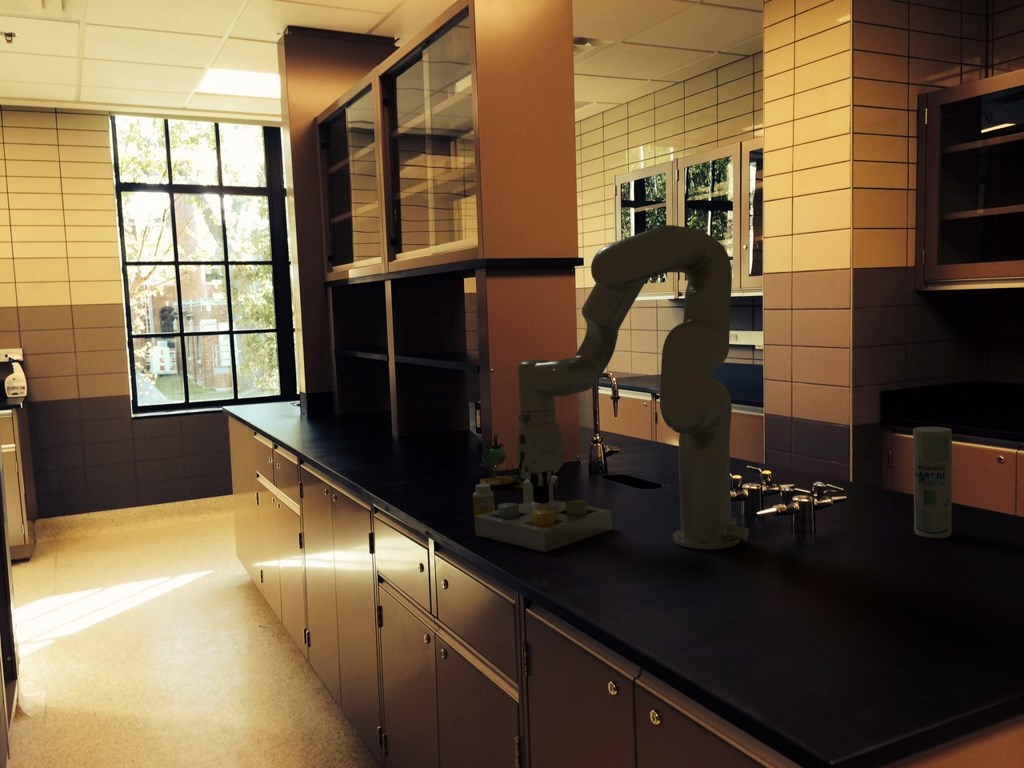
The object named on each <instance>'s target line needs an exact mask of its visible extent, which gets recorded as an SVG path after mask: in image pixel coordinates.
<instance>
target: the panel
mask: <svg viewBox="0 0 1024 768" xmlns="http://www.w3.org/2000/svg"><path fill="white" fill-rule="evenodd" d="M549 501H552V508H548V509H545V510H552V511H554V521H555V524H554V525H551V526H548V527H545V528H542V527H538V526H533V525H532V512H533V511H536V510H539V509H534V508H532V502H534V500H532V501H529V502H525V503H524V502H522V503H519V517H517V518H514V519H510V520H505V519H500V518H498V509H495V511H492V512H489V513H485V514H481V515H478V516H474V515H473V518H474V517H475V521H474V530H475V535H474V536H477V537H481V538H485V539H490V540H493V541H497V542H501V543H506V544H508V545H513V546H518V547H521V548H526V549H529V550H533V551H538V552H543V553H548V552H551V551H553V550H556V549H558V548H562V547H565V546H569V545H571V544H574V543H577V542H579V541H580V542H581V541H582V540H585V539H589V538H592V537H594V536H597V535H599V534H604V533H605V532H606V533H607V532H608V531H611V530H613V519H612V517H613V516H612V510H611V509H605V508H599V507H596V506H595V507H594V506H589V505H587V507H588V514H586V515H583V516H580V517H575V516H570V515H566V502H567V501H561V500H559V501H556V500H550V499H549Z"/></svg>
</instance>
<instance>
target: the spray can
mask: <svg viewBox="0 0 1024 768" xmlns="http://www.w3.org/2000/svg"><path fill="white" fill-rule="evenodd" d="M912 445H913V451H912V453H913V455H912V456H913V511H914V512H913V513H914V514H913V518H914V519H913V521H914V529H913V530H914V533H915V534H916V535H917V536H919V537H925V538H929V539H945V538H949V537H950V536H952V510H953V509H952V491H953V490H952V486H953V485H952V483H953V481H952V476H953V474H952V473H953V471H952V470H953V466H952V465H953V464H952V463H953V461H952V460H953V455H952V454H953V431H952V428H948V427H941V426H918V427H913V430H912Z"/></svg>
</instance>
